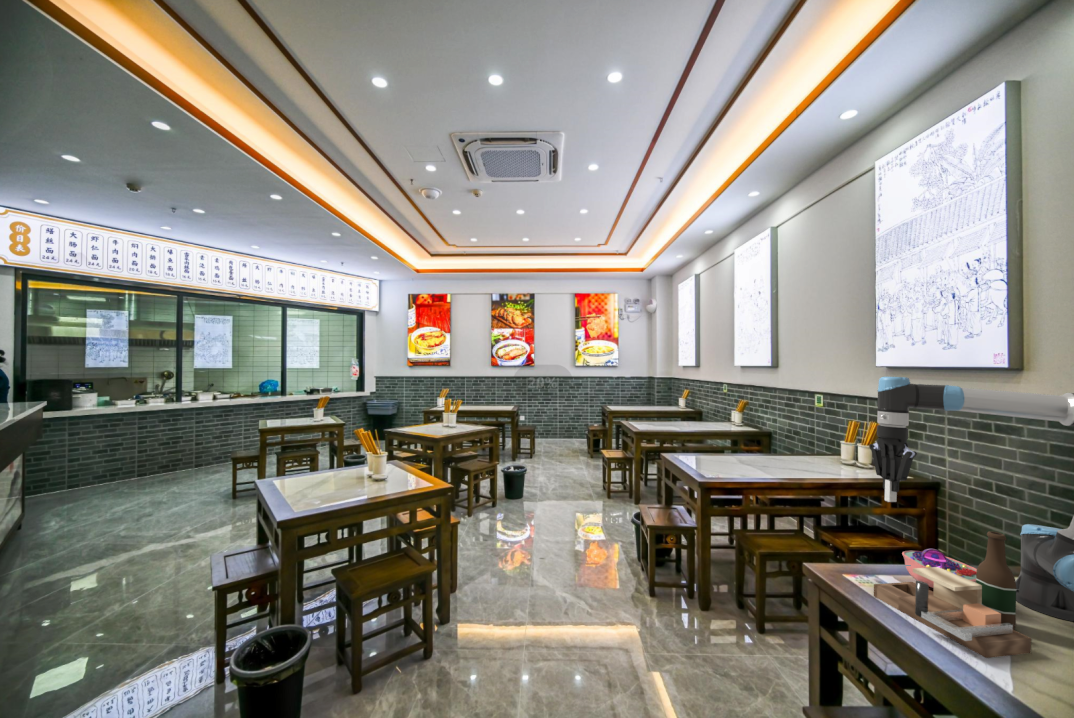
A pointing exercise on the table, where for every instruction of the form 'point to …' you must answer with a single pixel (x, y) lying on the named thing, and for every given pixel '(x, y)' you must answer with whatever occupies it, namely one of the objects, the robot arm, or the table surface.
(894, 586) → the base
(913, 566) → the cell model
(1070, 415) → the robot arm
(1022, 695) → the table surface
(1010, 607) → the beer bottle
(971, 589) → the tunnel
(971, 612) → the block
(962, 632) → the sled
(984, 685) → the table surface
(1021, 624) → the table surface
